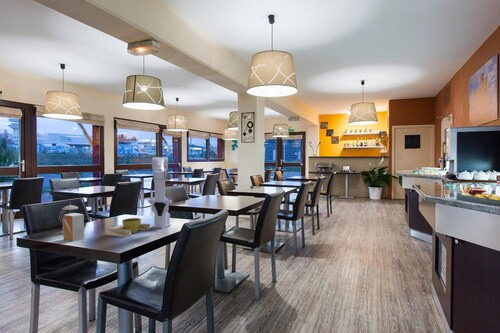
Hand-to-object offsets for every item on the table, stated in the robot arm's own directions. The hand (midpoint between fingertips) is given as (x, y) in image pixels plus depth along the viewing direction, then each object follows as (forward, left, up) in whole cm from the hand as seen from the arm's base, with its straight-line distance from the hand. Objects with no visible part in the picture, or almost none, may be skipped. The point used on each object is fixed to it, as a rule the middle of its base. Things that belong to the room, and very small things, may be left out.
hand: (160, 215), depth 178 cm
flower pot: (+5, -16, -10) cm, 19 cm away
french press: (+15, -51, -10) cm, 54 cm away
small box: (+27, -34, -10) cm, 44 cm away
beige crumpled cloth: (+5, -18, -9) cm, 21 cm away
